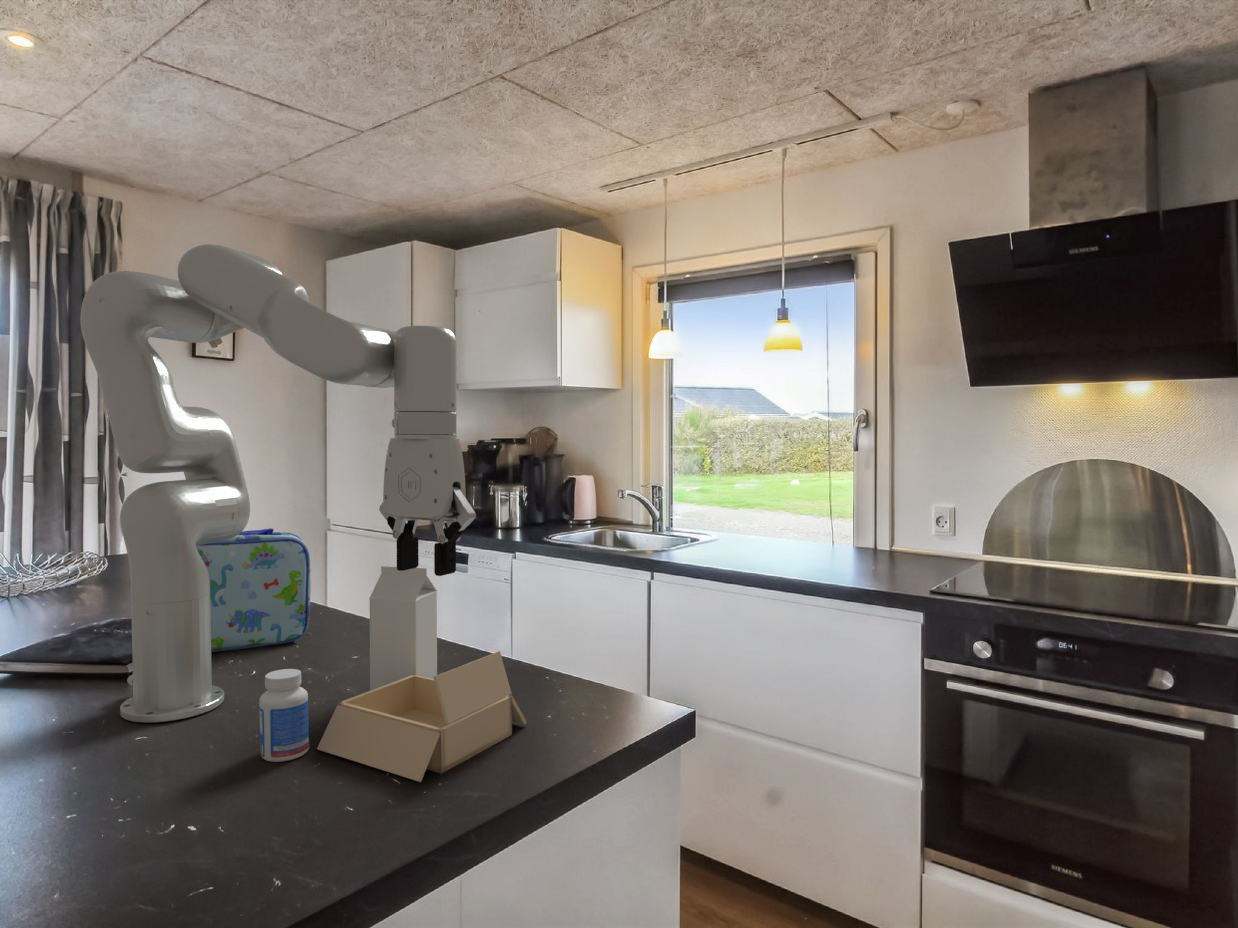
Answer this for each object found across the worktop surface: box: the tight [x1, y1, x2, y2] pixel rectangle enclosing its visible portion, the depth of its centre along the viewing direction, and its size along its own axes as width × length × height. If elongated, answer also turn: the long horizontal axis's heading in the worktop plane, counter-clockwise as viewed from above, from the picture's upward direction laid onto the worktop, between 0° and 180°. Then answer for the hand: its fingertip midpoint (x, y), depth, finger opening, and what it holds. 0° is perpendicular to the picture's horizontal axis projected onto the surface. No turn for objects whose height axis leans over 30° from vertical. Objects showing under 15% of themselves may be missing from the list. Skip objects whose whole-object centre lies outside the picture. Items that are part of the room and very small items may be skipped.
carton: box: [316, 675, 528, 783], centre depth 98 cm, size 20×20×5 cm
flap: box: [433, 650, 512, 724], centre depth 93 cm, size 1×12×6 cm, turn 150°
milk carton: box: [369, 565, 438, 691], centre depth 113 cm, size 7×7×19 cm
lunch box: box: [196, 527, 312, 653], centre depth 138 cm, size 26×11×21 cm, turn 120°
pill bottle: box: [258, 668, 310, 763], centre depth 93 cm, size 6×5×10 cm
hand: (426, 570), depth 97 cm, fingers open, 5 cm apart
